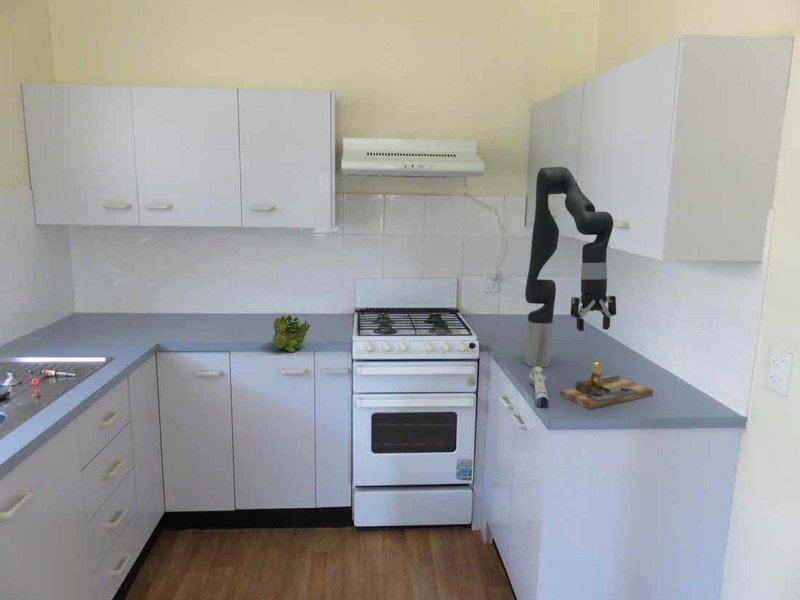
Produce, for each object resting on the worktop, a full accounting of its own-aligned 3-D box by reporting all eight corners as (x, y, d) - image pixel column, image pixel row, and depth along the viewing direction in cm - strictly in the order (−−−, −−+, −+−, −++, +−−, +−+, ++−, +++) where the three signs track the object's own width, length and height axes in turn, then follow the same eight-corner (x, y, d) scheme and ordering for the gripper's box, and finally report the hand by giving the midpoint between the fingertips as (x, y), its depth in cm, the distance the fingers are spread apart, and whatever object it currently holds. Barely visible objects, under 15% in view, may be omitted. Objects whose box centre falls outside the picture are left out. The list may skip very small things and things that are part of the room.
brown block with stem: (575, 389, 186) (576, 381, 185) (582, 388, 187) (583, 379, 187) (593, 397, 179) (594, 388, 178) (600, 396, 180) (601, 387, 180)
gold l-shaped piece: (586, 387, 188) (588, 361, 186) (593, 385, 190) (595, 360, 188) (605, 394, 181) (607, 368, 180) (612, 393, 183) (614, 366, 181)
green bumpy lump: (261, 334, 240) (287, 307, 245) (288, 359, 242) (313, 332, 247) (263, 330, 223) (291, 301, 228) (292, 357, 225) (319, 328, 230)
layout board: (560, 395, 186) (561, 384, 185) (621, 383, 199) (622, 372, 198) (590, 409, 175) (591, 397, 174) (652, 395, 187) (653, 384, 187)
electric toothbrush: (534, 396, 175) (530, 361, 199) (532, 415, 177) (528, 379, 201) (551, 397, 174) (545, 362, 198) (550, 416, 177) (543, 379, 200)
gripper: (607, 276, 178) (606, 327, 180) (566, 277, 175) (565, 329, 176) (622, 277, 171) (621, 330, 172) (579, 278, 168) (578, 333, 169)
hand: (593, 330), depth 174 cm, fingers open, 8 cm apart
